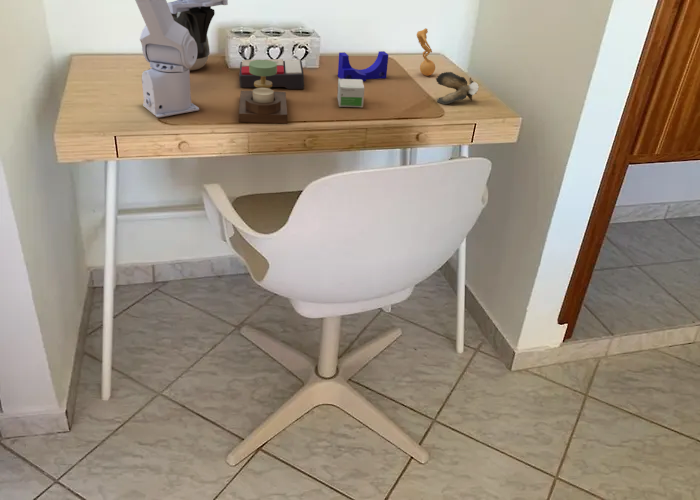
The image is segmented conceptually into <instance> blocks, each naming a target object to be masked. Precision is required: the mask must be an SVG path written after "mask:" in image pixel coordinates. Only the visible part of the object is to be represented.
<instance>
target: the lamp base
mask: <svg viewBox="0 0 700 500" xmlns="http://www.w3.org/2000/svg"><path fill="white" fill-rule="evenodd" d="M252 91H253V90H240V94H239V105H238V106H239V107H238V123H247V124H248V123H250V124H251V123H255V124H288V106H287V105H288V104H287V93H286V91H274V101H273V102H270V103H258V102H254V101H253V92H252Z"/></svg>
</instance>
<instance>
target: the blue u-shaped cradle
mask: <svg viewBox="0 0 700 500" xmlns="http://www.w3.org/2000/svg"><path fill="white" fill-rule="evenodd" d="M349 57H350V56H349V55H348V54H347V53H346V52H345V51H344V52H338V65H337V66H338V67H337V77H338V79H360V80H363V82H366V81H367V80H379V79H382V80H383V79H387V75H388V64H389V54H388V53H387V52H386V51H384V50H382V51H381V50H380V51H378V53H377V57H376V58H375V60H374V62H373V63H372V64H371V65H370V66H369V67H366V68H364V69H358V68H354V67H353V66H352V65H351V63H350V58H349Z"/></svg>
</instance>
